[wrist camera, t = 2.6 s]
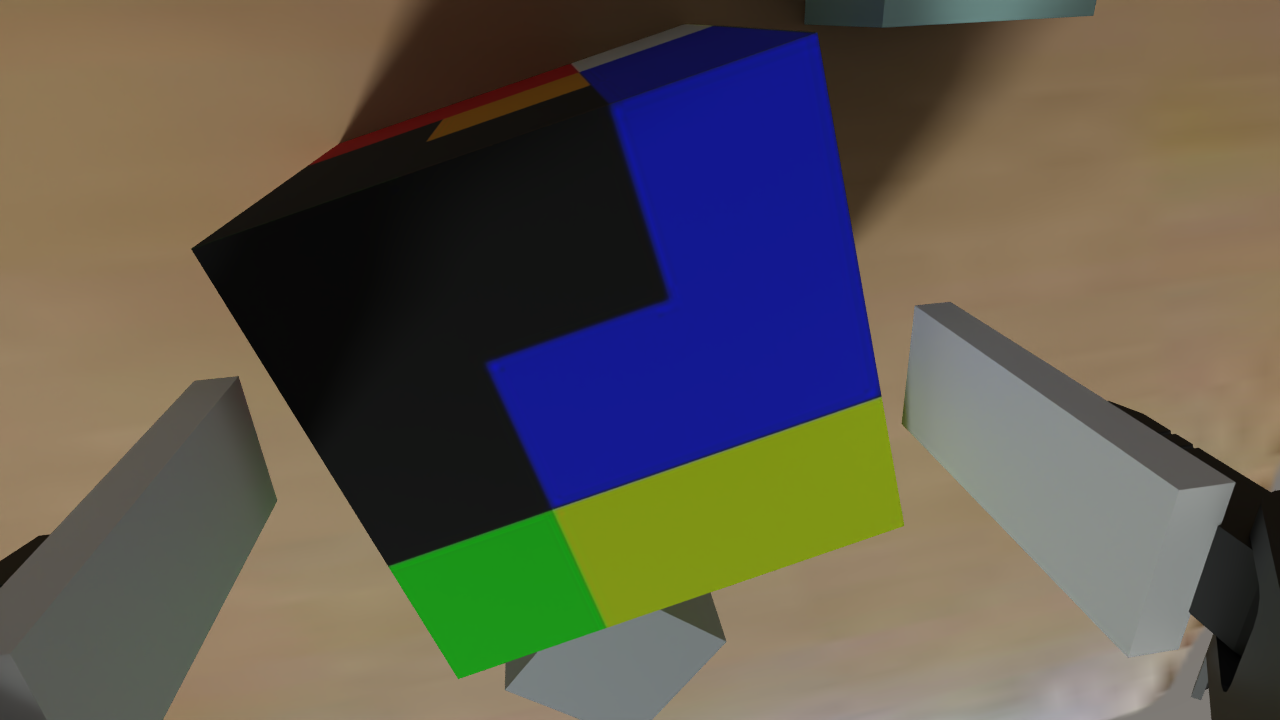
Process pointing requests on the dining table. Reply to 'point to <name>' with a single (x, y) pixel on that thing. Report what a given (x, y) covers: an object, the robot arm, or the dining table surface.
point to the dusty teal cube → (937, 11)
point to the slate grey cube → (622, 664)
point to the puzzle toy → (581, 337)
